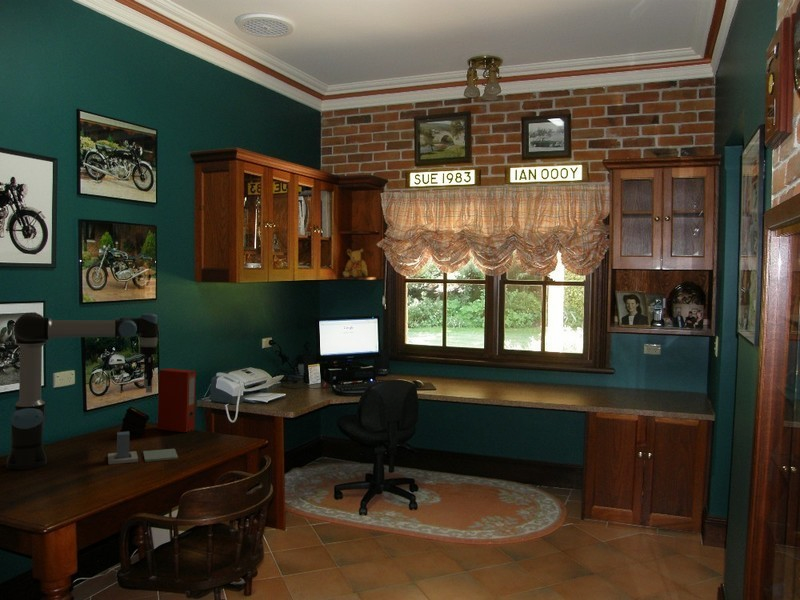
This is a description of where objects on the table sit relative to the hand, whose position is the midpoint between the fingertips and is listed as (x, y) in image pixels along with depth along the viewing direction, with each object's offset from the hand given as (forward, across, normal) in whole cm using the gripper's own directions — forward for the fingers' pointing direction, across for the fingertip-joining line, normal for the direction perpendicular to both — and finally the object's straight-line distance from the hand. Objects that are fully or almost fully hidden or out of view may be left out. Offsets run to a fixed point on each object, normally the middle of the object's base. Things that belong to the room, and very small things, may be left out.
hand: (147, 389), depth 309 cm
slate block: (+28, -17, +11) cm, 35 cm away
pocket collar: (+28, -17, +11) cm, 35 cm away
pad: (+28, -17, -5) cm, 33 cm away
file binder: (+28, +31, -17) cm, 45 cm away
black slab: (+28, +22, +4) cm, 36 cm away
